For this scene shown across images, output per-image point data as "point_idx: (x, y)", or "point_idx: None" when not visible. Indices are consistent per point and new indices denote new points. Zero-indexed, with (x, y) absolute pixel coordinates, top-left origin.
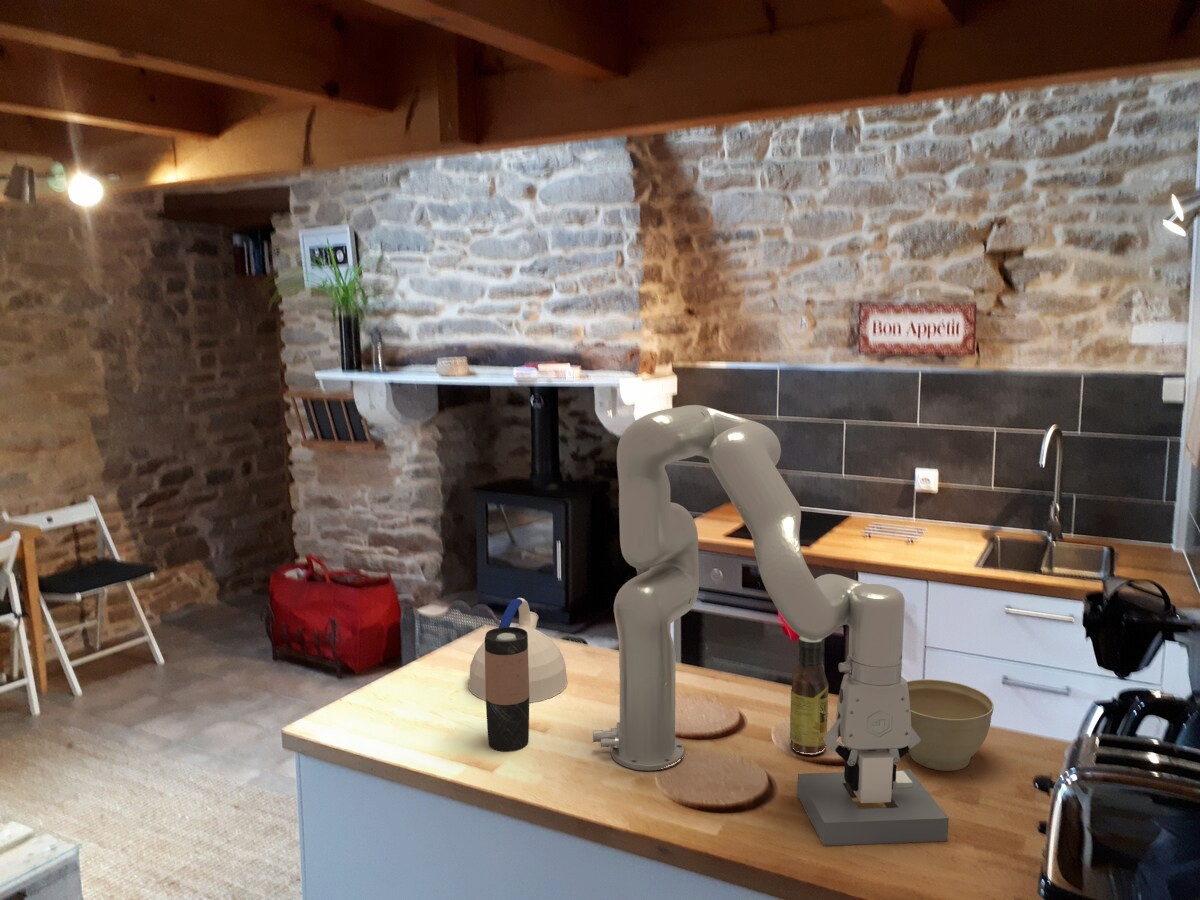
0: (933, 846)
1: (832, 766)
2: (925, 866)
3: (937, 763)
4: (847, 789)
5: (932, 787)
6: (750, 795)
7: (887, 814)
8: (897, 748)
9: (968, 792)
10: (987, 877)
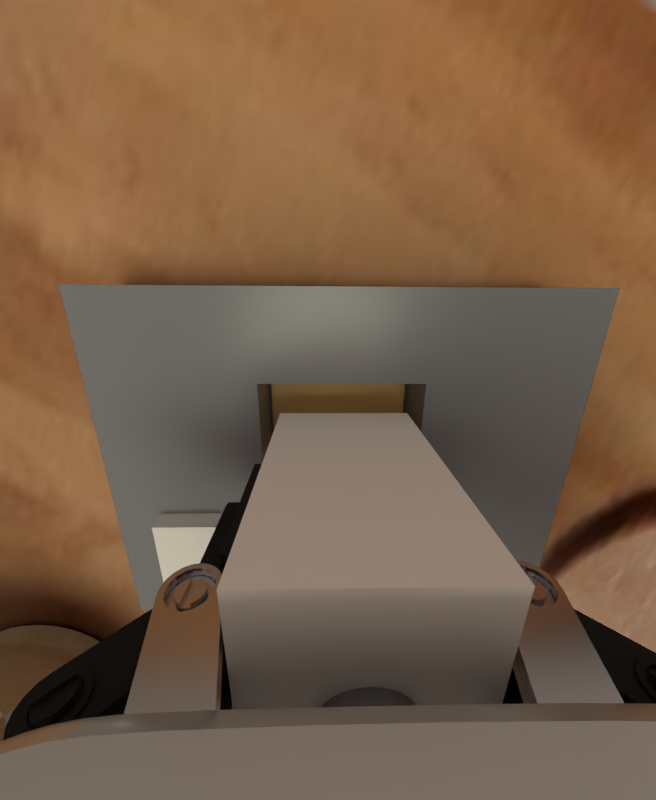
0: (182, 257)
1: None
2: (248, 123)
3: (57, 648)
4: None
5: (105, 561)
6: (612, 549)
7: (323, 334)
8: (115, 717)
9: (4, 535)
10: (22, 9)
